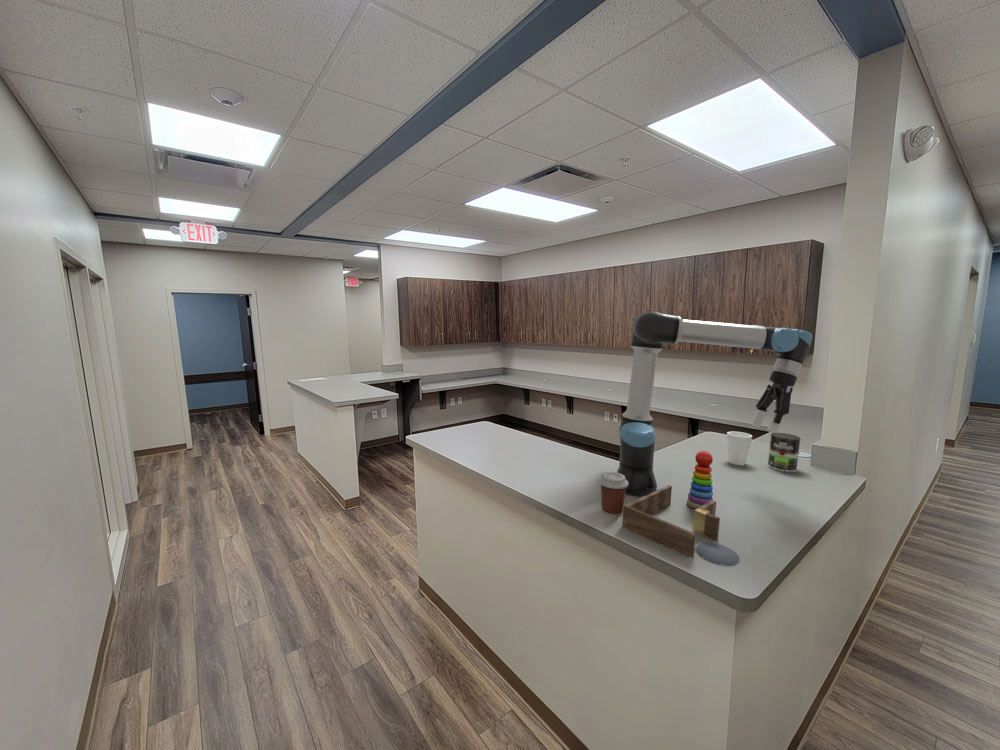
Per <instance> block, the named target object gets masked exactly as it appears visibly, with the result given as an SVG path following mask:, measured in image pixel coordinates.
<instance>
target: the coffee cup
mask: <svg viewBox="0 0 1000 750" xmlns="http://www.w3.org/2000/svg"><path fill="white" fill-rule="evenodd" d="M598 483H599V484H600V492H601V493H600V494H601V495H600V497H601V512H602V513H603V514H604V515H605V516H606V515H607V516H610V517H620V516H623V506H624V504H625V498H626V494H625V491H626V487H628V485H629V483H628V481H627V480H626V479H625V476H624V475H622V474H620V473H617V471H616V472H615V471H606V472H603V474H602V475H601V476H600V477H599V478H598Z"/></svg>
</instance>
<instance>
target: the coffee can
mask: <svg viewBox="0 0 1000 750" xmlns="http://www.w3.org/2000/svg"><path fill="white" fill-rule="evenodd" d="M801 439H802V438H801V437H800V436H798V435H794V434H790V433H784V432H777V433H773V432H771V434H770V441H769V442H770V443H769V450H768V461H767V467H768V468H769V469H773V470H775V471H780V472H784V471H786V473H795V471H796V472H797V470H798V459H799V453H800V451H799V450H800V444H801V443H800V442H801Z"/></svg>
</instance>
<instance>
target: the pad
mask: <svg viewBox="0 0 1000 750" xmlns="http://www.w3.org/2000/svg"><path fill="white" fill-rule="evenodd" d="M695 550H696V551H695V552H696V553H697V552H698V553H697V554H698V556H699V557H701V556H702V557H701V558H703V557H704V558H705V559H704V558H703V559H704V560H706V559H707V560H706V561H708V560H709V561H708V562H710V561H711V562H710V563H713V562H714V564H716V563H717V565H720V564H724V565H723V566H734V565H733V564H735V565H737V564H738V563H739V562H740V555H738V553H737V552H736V551H734V549H732V548H730V547H728V546H725V544H724V545H723V544H720V543H716V542H709V541H706V542H705V541H703V542H700V543H698V544H697V545H695ZM736 563H737V564H736Z"/></svg>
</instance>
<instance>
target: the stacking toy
mask: <svg viewBox="0 0 1000 750" xmlns="http://www.w3.org/2000/svg"><path fill="white" fill-rule="evenodd" d="M713 460H714V458H713V456H712V454H711V453H710V452H709V451H705V450H702V451H701V450H700V451H699V452H697V453H696V455H695V462H696V463H697V464H695V465H694V470H693V471H692V475H693V476H692V477H691V480H692V481H691V483H690V486H691V487H690V488H689V491H688V493H687V499H686V503H687V505H688V506H689V507H690V508H692V509H694V510H696V509H698V508H700V507H701V506H703V505H704V504H706V503H708V502H709V501H711V500H714V499H713V495H714V492H713V489H714V488H713V480H712V478H713V477H712V470H713V469H712V467H711V464H712V463H713Z"/></svg>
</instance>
